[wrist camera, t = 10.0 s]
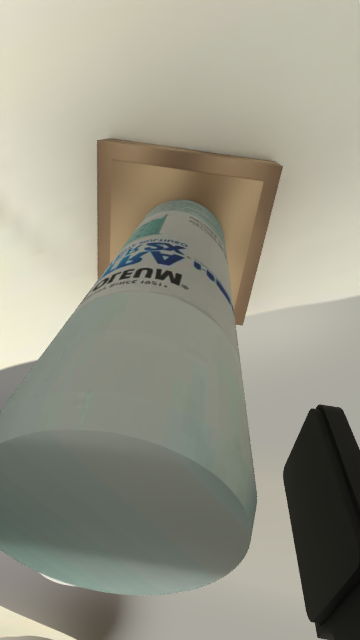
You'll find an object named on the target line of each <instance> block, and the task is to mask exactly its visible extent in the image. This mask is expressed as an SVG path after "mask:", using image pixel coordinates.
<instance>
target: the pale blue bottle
mask: <svg viewBox="0 0 360 640" xmlns="http://www.w3.org/2000/svg"><path fill="white" fill-rule="evenodd" d="M235 325H236V324H235V316H234V308H233V300H232V292H231V284H230V276H229V269H228V261H227V253H226V245H225V237H224V232H223V229H222V227H221V225H220V223H219V221H218V219H217V218H216V217H215V216H214V214H213V213H212V212H211V211H209V210H208V209H207V208H206V207H204V206H203V205H201V204H199V203H196V202H194V201H190V200H181V199H180V200H171V201H167V202H164V203H162V204H160V205H158V206H156V207H155V208H154V209H152V210H151V211H150V212H149V213H148V214H147V215H146V217H145V218H144V219H143V221H142V222H141V223H140V225H139V226H138V227H137V229H136V230H135V231H134V233H133V234H132V235H131V237H130V238H129V239H128V241H127V242H126V243H125V245H124V246H123V247H122V249H121V250H120V251H119V253H118V254H117V255H116V257H115V258H114V259H113V261H112V262H111V263H110V265H109V266H108V267H107V269H106V270H105V271H104V273H103V274H102V275H101V277H100V278H99V279H98V281H97V282H96V283H95V285H94V286H93V287H92V289H91V290H90V291H89V293H88V294H87V295H86V297H85V298H84V299H83V301H82V302H81V303H80V305H79V306H78V307H77V309H76V310H75V311H74V313H73V314H72V315H71V317H70V318H69V319H68V321H67V322H66V323H65V325H64V326H63V327H62V329H61V330H60V331H59V333H58V334H57V335H56V337H55V338H54V340H53V341H52V342H51V344H50V345H49V346H48V348H47V349H46V350H45V352H44V353H43V354H42V356H41V357H40V358H39V360H38V361H37V362H36V364H35V365H34V366H33V368H32V369H31V370H30V372H29V373H28V374H27V376H26V377H25V378H24V380H23V381H22V382H21V384H20V385H19V386H18V388H17V389H16V390H15V392H14V393H13V394H12V396H11V397H10V398H9V400H8V401H7V402H6V404H5V405H4V406H3V408H2V409H1V410H0V550H2V551H3V552H4V553H6V554H7V555H9V556H10V557H12V558H13V559H15V560H16V561H18V562H20V563H21V564H23V565H25V566H27V567H29V568H31V569H33V570H35V571H37V572H39V573H41V574H43V575H46V576H48V577H51V578H53V579H56V580H59V581H62V582H65V583H68V584H71V585H75V586H79V587H83V588H87V589H91V590H96V591H101V592H107V593H115V594H124V595H164V594H172V593H179V592H184V591H189V590H193V589H196V588H199V587H203V586H205V585H208V584H211V583H213V582H215V581H217V580H219V579H221V578H222V577H224V576H226V575H227V574H228V573H230V572H231V571H232V570H233V569H235V568H236V567H237V566H238V565H239V563H240V562H241V561H242V560H243V558H244V557H245V555H246V553H247V551H248V549H249V545H250V541H251V535H252V528H253V523H254V516H255V511H256V504H257V491H256V483H255V475H254V468H253V459H252V452H251V444H250V436H249V428H248V420H247V412H246V404H245V396H244V388H243V380H242V372H241V364H240V356H239V348H238V340H237V333H236V326H235Z"/></svg>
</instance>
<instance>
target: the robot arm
mask: <svg viewBox="0 0 360 640" xmlns="http://www.w3.org/2000/svg"><path fill="white" fill-rule="evenodd" d="M283 479H284V486H285V492H286V497H287V503H288V508H289V514H290V520H291V525H292V532H293V538H294V543H295V549H296V554H297V561H298V566H299V572H300V578H301V584H302V589H303V595H304V601H305V607H306V612H307V615H308V618H309V620H310V621H311V622H315V626H316V631H317V637H318V638H321V639H327V640H360V450H359V447H358V445H357V442H356V440H355V438H354V436H353V433H352V431H351V428H350V426H349V424H348V421H347V418H346V416H345V414H344V412H343V410H342V409H341V408H339V407H333V406H326V405H318V406H317V407H316V409H310V411H309V413H308V415H307V418H306V420H305V422H304V424H303V426H302V429H301V431H300V433H299V435H298V437H297V440H296V442H295V444H294V446H293V449H292V451H291V453H290V455H289V458H288V460H287V462H286V464H285V467H284V471H283Z"/></svg>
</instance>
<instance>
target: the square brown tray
mask: <svg viewBox="0 0 360 640" xmlns="http://www.w3.org/2000/svg"><path fill="white" fill-rule="evenodd" d="M282 167H283V166H281V165H280V164H278V163H276V162H273V161H266V160H259V159H251V158H244V157H237V156H230V155H223V154H216V153H209V152H202V151H195V150H188V149H181V148H173V147H166V146H159V145H152V144H145V143H138V142H131V141H124V140H117V139H110V138H109V139H103V140H97V212H98V279H99V278H100V277H101V275H102V274H103V273H104V271H105V270H106V269H107V267H108V266H109V265H110V263H111V262H112V261H113V259H114V258H115V257H116V255H117V254H118V253H119V251H120V250H121V249H122V247H123V246H124V245H125V243H126V242H127V241H128V239H129V238H130V237H131V235H132V234H133V233H134V231H135V230H136V229H137V227H138V226H139V225H140V223H141V222H142V221H143V219H144V218H145V217H146V215H147V214H148V213H149V212H150V211H151V210H152V209H154V208H155V207H156V206H158V205H160V204H162V203H164V202H167V201H171V200H180V199H181V200H190V201H194V202H196V203H199V204H201V205H203V206H204V207H206V208H207V209H208V210H209V211H211V212H212V213H213V214H214V216H215V217H216V218H217V219H218V221H219V223H220V225H221V227H222V229H223V232H224V237H225V245H226V253H227V261H228V269H229V276H230V284H231V292H232V300H233V308H234V316H235V324H236V325H243V322H244V318H245V314H246V310H247V306H248V302H249V298H250V294H251V290H252V286H253V282H254V279H255V275H256V271H257V267H258V263H259V259H260V255H261V251H262V247H263V243H264V239H265V235H266V231H267V227H268V223H269V219H270V215H271V211H272V207H273V203H274V199H275V195H276V191H277V187H278V183H279V179H280V175H281V171H282Z"/></svg>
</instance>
